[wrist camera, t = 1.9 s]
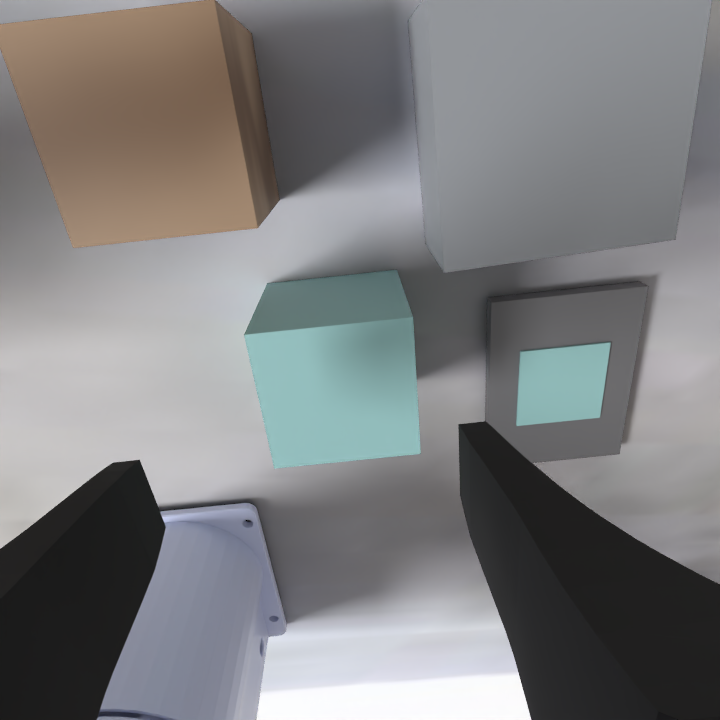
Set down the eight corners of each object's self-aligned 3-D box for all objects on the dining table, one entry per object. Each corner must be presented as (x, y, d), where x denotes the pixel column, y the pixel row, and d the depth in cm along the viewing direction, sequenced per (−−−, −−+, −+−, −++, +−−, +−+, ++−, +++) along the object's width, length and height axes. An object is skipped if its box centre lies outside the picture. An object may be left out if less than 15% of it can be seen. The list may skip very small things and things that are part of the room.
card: (612, 446, 23) (620, 455, 22) (484, 459, 23) (488, 468, 22) (640, 281, 19) (650, 287, 19) (487, 297, 19) (492, 303, 19)
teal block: (404, 381, 21) (420, 454, 17) (289, 393, 21) (274, 468, 17) (396, 269, 19) (413, 317, 14) (267, 282, 19) (244, 334, 14)
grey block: (610, 215, 18) (675, 239, 15) (424, 242, 18) (443, 273, 15) (631, -15, 15) (720, -55, 12) (406, 22, 15) (426, -7, 12)
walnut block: (279, 199, 17) (257, 228, 13) (142, 214, 18) (72, 248, 13) (252, 33, 15) (214, -1, 11) (94, 52, 15) (-9, 25, 11)
